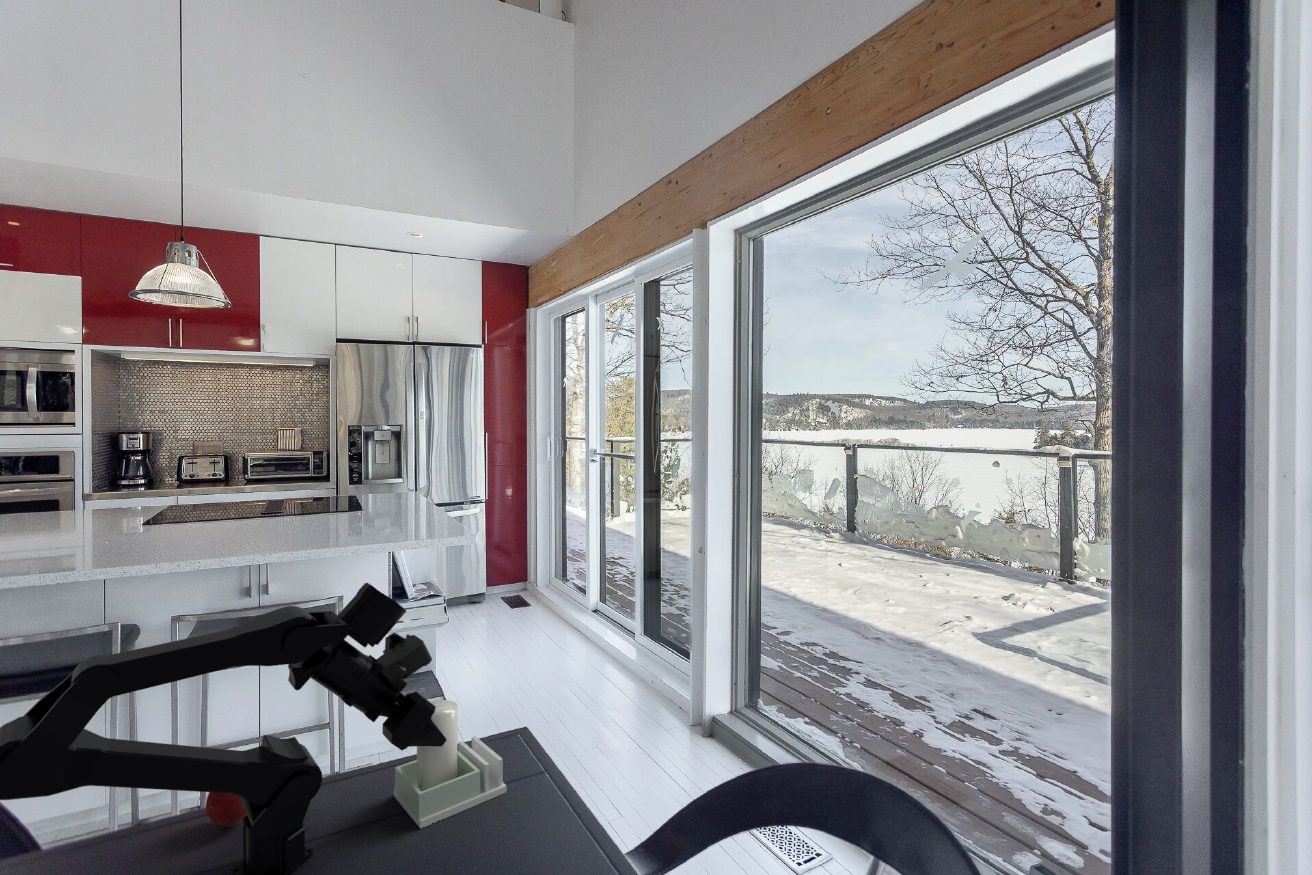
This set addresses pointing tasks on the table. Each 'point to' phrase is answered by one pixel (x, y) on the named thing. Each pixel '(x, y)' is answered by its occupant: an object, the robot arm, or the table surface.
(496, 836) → the table surface
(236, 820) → the red rounded egg shape
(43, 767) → the robot arm
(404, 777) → the pale green holder box
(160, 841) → the table surface
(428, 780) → the off-white round-top cylinder
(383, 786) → the table surface
